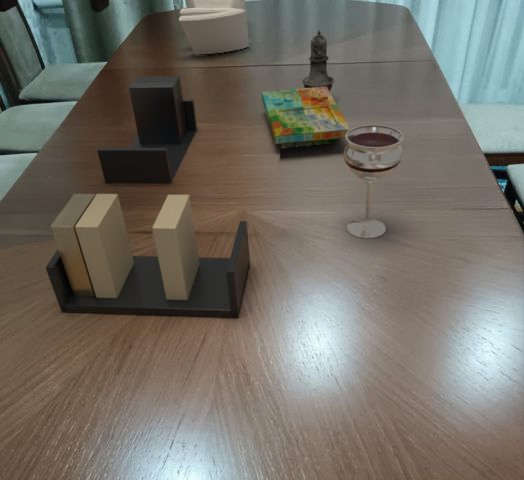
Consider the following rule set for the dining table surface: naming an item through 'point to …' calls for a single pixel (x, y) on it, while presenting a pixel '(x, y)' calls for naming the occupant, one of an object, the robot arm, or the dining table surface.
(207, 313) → the black book holder
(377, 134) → the wineglass
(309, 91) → the puzzle game
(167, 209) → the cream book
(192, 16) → the wavy white extrusion
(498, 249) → the dining table surface
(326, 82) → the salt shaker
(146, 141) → the grey book rack
